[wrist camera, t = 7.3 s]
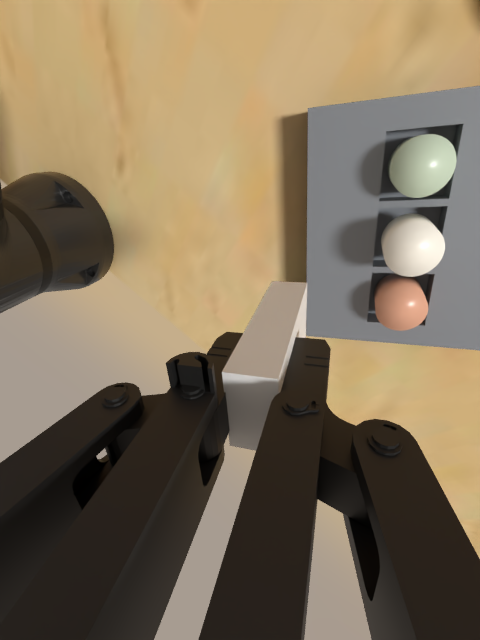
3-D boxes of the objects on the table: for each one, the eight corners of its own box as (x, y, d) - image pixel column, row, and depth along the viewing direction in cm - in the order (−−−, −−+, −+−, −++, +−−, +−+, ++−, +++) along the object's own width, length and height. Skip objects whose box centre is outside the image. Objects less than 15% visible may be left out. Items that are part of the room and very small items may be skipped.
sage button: (384, 192, 30) (387, 199, 27) (390, 137, 28) (394, 137, 25) (439, 190, 29) (449, 196, 25) (450, 132, 27) (462, 131, 23)
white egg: (378, 261, 31) (380, 276, 28) (383, 213, 29) (386, 223, 26) (430, 262, 30) (439, 277, 27) (439, 212, 28) (450, 221, 25)
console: (309, 323, 40) (306, 335, 38) (312, 110, 30) (307, 108, 28) (484, 336, 34) (494, 351, 32) (558, 79, 25) (580, 72, 22)
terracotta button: (372, 311, 35) (373, 328, 32) (376, 272, 34) (378, 286, 30) (417, 313, 34) (423, 332, 31) (425, 273, 32) (432, 288, 29)
